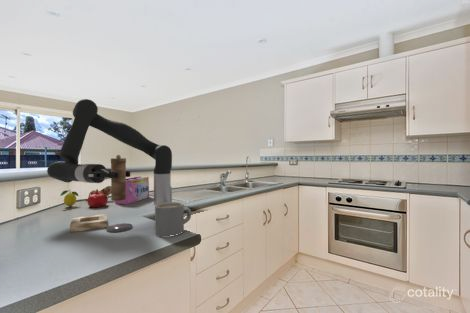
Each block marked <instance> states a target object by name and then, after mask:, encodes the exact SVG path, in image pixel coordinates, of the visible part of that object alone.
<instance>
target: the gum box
mask: <svg viewBox="0 0 470 313" xmlns="http://www.w3.org/2000/svg"><path fill="white" fill-rule="evenodd" d="M149 178H150V177H149V176H146V177H141V176H134V177H127V178H126V199H125V200H119V201H114V202H115V204H116V205H129V204H132V203H135V202H138V201H141V200H145V199H148V198H150V180H149Z"/></svg>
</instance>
